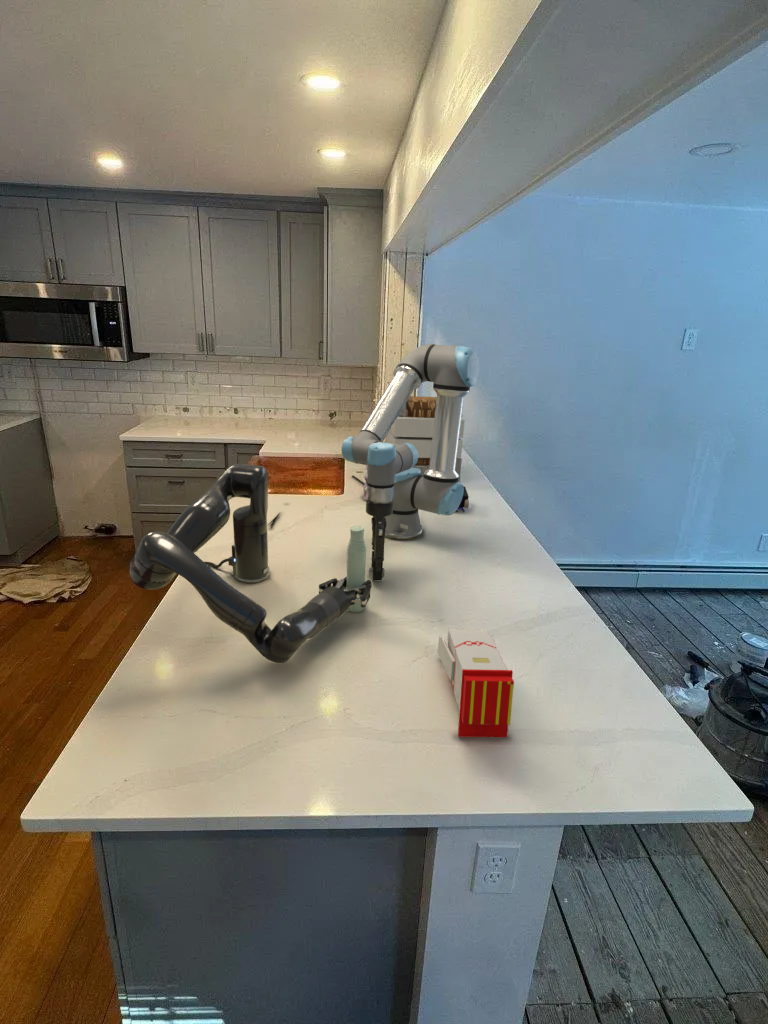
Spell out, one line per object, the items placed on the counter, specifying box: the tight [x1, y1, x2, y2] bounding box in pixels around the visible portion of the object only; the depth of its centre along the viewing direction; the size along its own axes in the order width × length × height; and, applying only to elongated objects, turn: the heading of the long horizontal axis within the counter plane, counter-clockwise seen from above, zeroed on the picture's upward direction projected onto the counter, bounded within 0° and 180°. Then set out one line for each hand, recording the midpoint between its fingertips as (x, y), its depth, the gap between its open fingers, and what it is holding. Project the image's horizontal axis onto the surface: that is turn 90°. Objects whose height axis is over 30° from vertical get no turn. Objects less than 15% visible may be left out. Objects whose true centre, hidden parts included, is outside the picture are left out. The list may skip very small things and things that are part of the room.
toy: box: [437, 628, 515, 738], centre depth 117 cm, size 12×13×30 cm
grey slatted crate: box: [384, 395, 465, 482], centre depth 268 cm, size 34×33×41 cm
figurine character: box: [455, 486, 470, 513], centre depth 227 cm, size 7×8×15 cm
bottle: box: [346, 525, 367, 613], centre depth 146 cm, size 5×5×22 cm
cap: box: [368, 567, 386, 580], centre depth 164 cm, size 5×5×2 cm
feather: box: [267, 512, 281, 529], centre depth 211 cm, size 2×28×2 cm
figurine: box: [362, 465, 368, 501], centre depth 233 cm, size 9×10×15 cm
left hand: (360, 580), depth 150 cm, fingers closed on bottle, 4 cm apart
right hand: (376, 575), depth 164 cm, fingers open, 5 cm apart
